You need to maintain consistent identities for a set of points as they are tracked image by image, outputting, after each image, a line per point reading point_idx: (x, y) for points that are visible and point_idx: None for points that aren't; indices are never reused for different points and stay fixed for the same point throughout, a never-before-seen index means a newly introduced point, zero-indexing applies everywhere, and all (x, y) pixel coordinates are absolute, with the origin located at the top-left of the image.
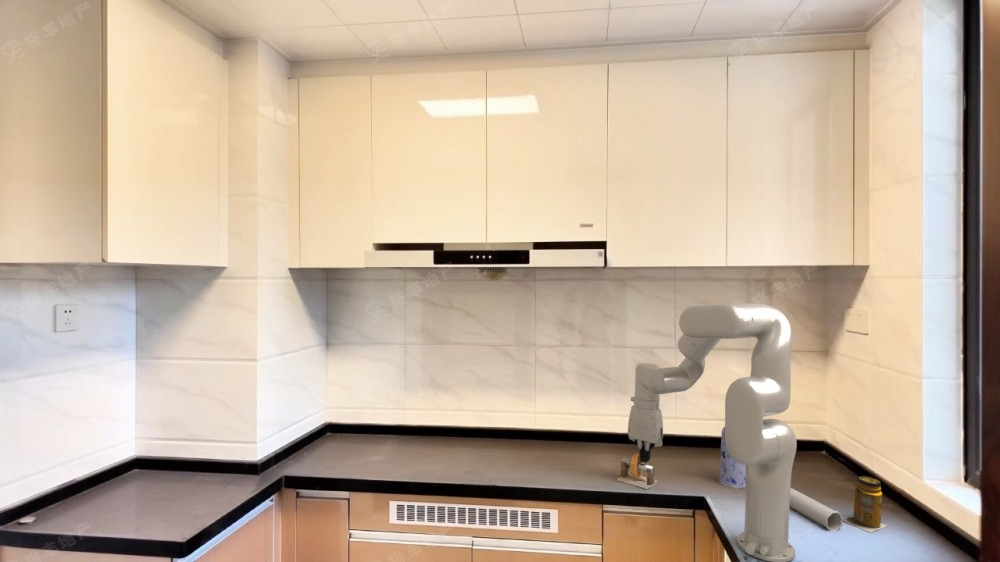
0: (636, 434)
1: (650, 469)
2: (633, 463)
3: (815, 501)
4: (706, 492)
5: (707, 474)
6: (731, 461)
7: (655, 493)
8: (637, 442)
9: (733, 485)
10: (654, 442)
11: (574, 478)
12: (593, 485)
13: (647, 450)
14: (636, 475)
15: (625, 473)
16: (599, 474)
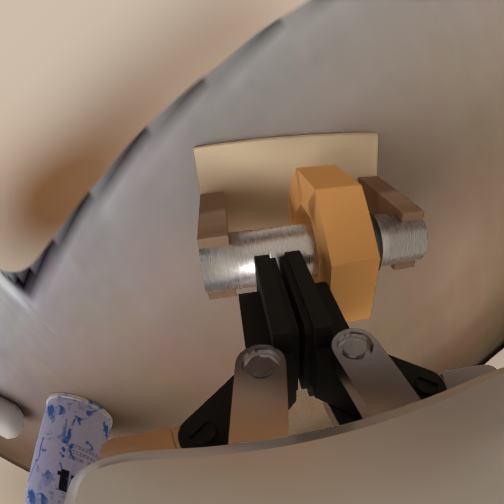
0: (480, 457)
1: (205, 245)
2: (335, 196)
3: None
4: (48, 327)
5: (154, 422)
6: (42, 461)
7: (138, 149)
8: (404, 379)
9: (53, 400)
10: (99, 466)
11: (495, 40)
12: (420, 8)
13: (250, 351)
14: (292, 188)
15: (366, 199)
16: (456, 146)
